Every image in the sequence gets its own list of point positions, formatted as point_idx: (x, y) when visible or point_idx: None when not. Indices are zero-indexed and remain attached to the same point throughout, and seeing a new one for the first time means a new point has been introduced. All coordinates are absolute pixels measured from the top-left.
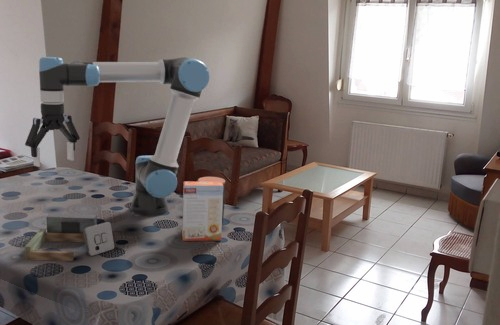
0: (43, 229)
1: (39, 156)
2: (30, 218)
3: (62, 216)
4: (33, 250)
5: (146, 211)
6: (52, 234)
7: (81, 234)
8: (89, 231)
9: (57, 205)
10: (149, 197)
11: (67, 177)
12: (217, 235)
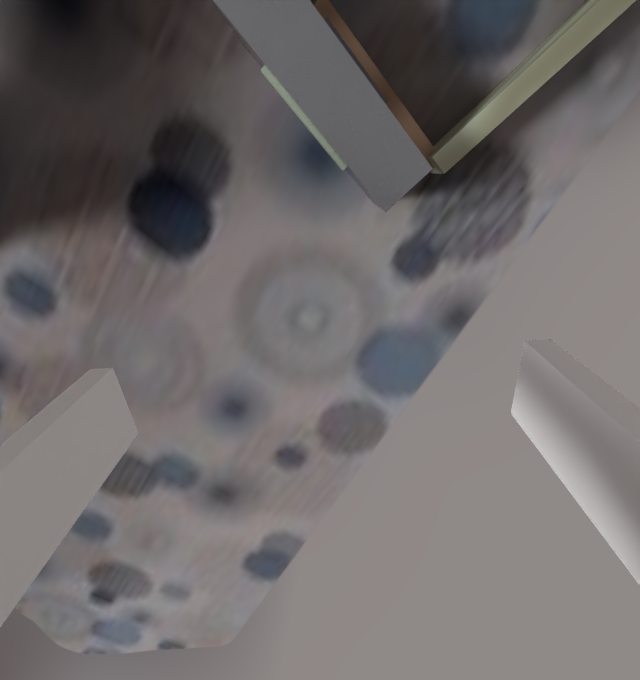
0: (441, 159)
1: (617, 413)
2: (332, 386)
3: (374, 114)
4: None
5: None
6: (416, 123)
7: (326, 16)
8: None
9: (206, 435)
10: None
11: (79, 595)
12: None
